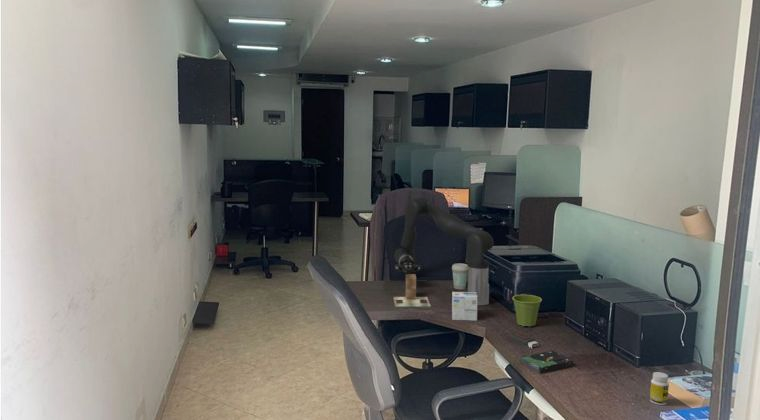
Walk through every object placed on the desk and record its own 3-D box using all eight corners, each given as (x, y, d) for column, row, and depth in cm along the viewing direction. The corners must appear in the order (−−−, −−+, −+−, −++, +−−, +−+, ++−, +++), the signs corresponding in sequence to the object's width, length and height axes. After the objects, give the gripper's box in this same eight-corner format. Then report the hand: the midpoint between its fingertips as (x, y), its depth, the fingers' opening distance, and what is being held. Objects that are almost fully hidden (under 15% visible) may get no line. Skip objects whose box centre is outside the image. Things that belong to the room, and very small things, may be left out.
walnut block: (414, 296, 272) (415, 274, 270) (415, 299, 267) (416, 276, 266) (405, 297, 272) (405, 274, 270) (406, 299, 267) (406, 276, 266)
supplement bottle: (664, 407, 167) (666, 379, 166) (647, 402, 170) (649, 374, 169) (669, 401, 170) (671, 374, 169) (652, 396, 173) (654, 369, 172)
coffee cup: (449, 286, 298) (450, 263, 296) (465, 285, 299) (466, 263, 297) (453, 290, 289) (454, 267, 288) (470, 290, 290) (470, 266, 289)
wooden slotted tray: (427, 299, 273) (427, 296, 272) (430, 309, 258) (430, 306, 257) (393, 299, 272) (393, 296, 272) (394, 309, 257) (394, 306, 257)
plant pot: (517, 318, 246) (518, 292, 245) (544, 323, 239) (546, 297, 238) (506, 325, 237) (507, 299, 235) (534, 331, 230) (535, 304, 228)
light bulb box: (476, 316, 249) (477, 291, 248) (477, 321, 242) (478, 296, 241) (451, 315, 250) (452, 291, 249) (451, 320, 243) (452, 295, 242)
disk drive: (551, 357, 205) (518, 364, 198) (552, 349, 205) (519, 356, 198) (573, 368, 196) (539, 375, 189) (573, 360, 196) (540, 367, 189)
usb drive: (516, 337, 224) (517, 330, 224) (540, 347, 214) (540, 340, 214) (507, 340, 222) (507, 333, 221) (529, 350, 211) (530, 342, 211)
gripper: (393, 255, 292) (395, 264, 275) (419, 256, 293) (423, 264, 275) (393, 270, 293) (395, 279, 276) (419, 270, 294) (422, 279, 277)
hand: (409, 271), depth 276 cm, fingers closed
